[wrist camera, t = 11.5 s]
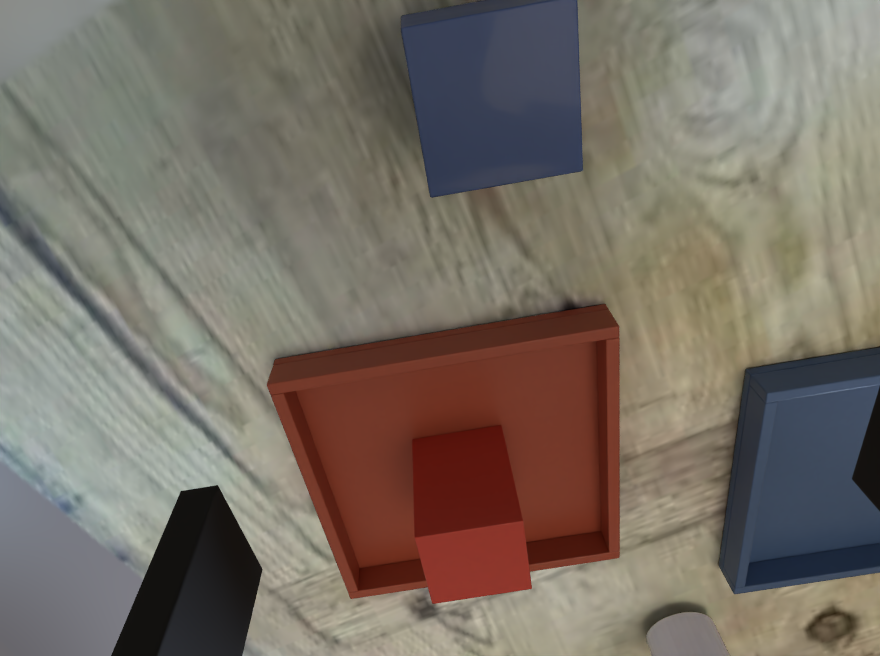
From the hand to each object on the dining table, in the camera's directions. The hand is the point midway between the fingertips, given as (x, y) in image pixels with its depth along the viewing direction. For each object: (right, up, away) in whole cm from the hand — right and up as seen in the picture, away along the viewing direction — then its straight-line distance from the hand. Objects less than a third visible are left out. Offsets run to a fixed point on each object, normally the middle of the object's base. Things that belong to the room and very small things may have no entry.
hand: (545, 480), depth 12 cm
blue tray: (+21, -4, +20) cm, 30 cm away
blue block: (-1, +12, +9) cm, 15 cm away
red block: (-1, -4, +18) cm, 18 cm away
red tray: (-1, -3, +18) cm, 19 cm away
